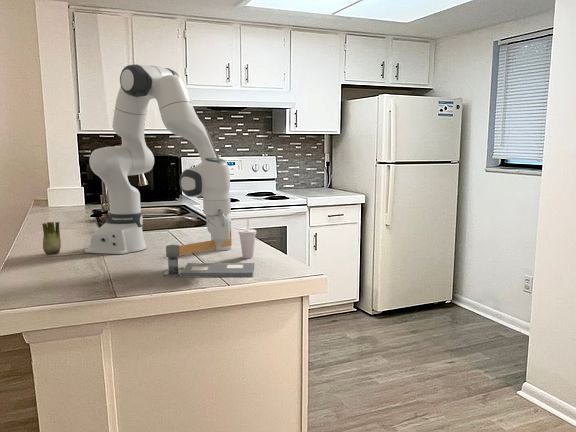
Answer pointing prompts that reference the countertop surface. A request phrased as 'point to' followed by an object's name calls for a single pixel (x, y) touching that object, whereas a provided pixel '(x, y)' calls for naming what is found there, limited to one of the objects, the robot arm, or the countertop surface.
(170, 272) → the pivot post
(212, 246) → the strip
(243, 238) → the smoothie
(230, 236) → the milk bottle
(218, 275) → the tray
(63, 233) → the countertop surface
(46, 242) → the fennel bulb
